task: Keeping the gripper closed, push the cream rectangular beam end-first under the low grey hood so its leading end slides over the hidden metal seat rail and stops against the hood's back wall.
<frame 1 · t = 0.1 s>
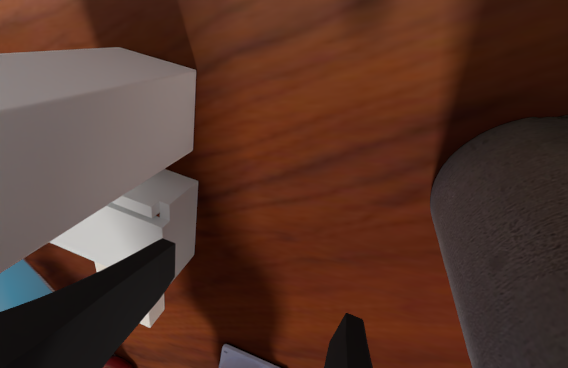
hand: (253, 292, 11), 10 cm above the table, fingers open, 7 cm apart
hood: (133, 199, 26), on the table
liquor: (123, 363, 45), on the table
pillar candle: (517, 197, 16), on the table
milk: (160, 101, 20), on the table
cream rectangular beam: (140, 271, 31), on the table
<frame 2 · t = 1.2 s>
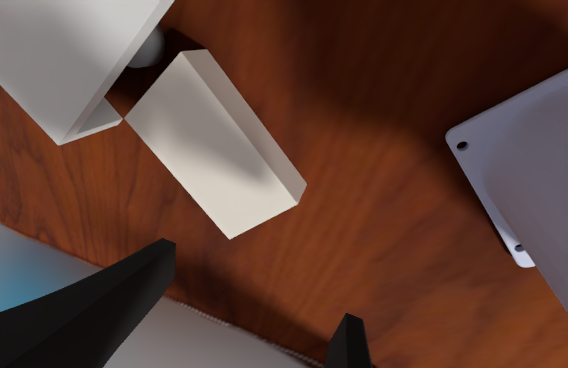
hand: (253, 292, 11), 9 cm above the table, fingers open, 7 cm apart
hood: (119, 8, 16), on the table
cream rectangular beam: (228, 145, 19), on the table
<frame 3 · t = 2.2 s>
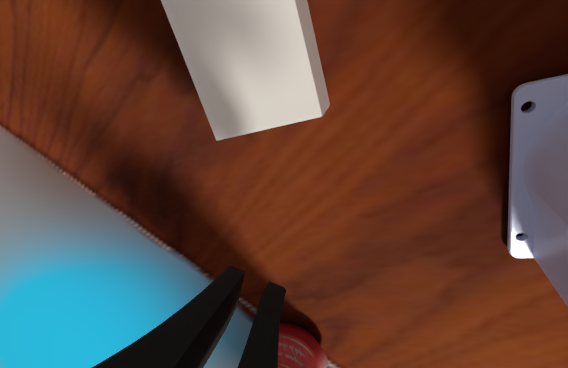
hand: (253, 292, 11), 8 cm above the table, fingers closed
liquor: (293, 337, 26), on the table
cream rectangular beam: (251, 22, 14), on the table
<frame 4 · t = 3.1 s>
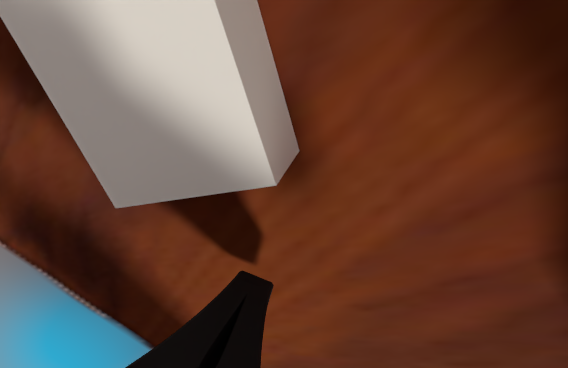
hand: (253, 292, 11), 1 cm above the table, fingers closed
cream rectangular beam: (164, 16, 9), on the table
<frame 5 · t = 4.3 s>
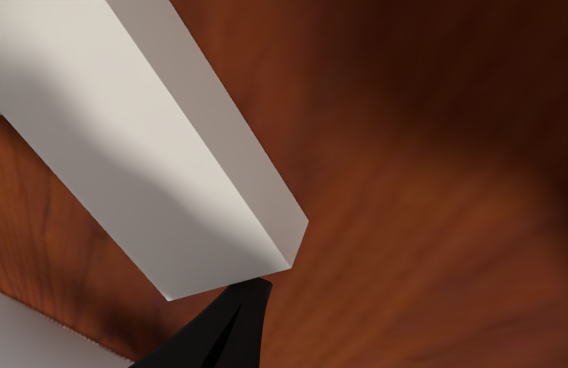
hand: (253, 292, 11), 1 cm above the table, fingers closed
cream rectangular beam: (176, 141, 11), on the table, touching gripper
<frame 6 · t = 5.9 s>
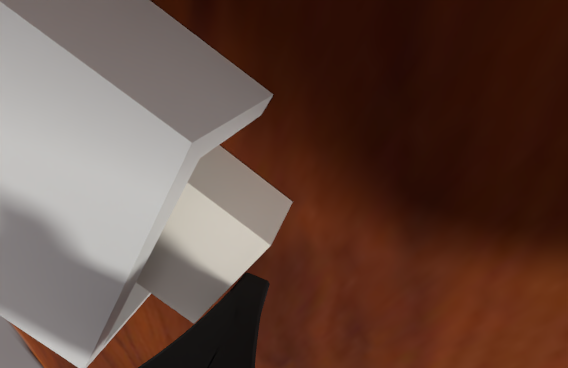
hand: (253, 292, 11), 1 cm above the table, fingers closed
hood: (120, 164, 12), on the table
cream rectangular beam: (156, 172, 12), resting in hood, touching gripper
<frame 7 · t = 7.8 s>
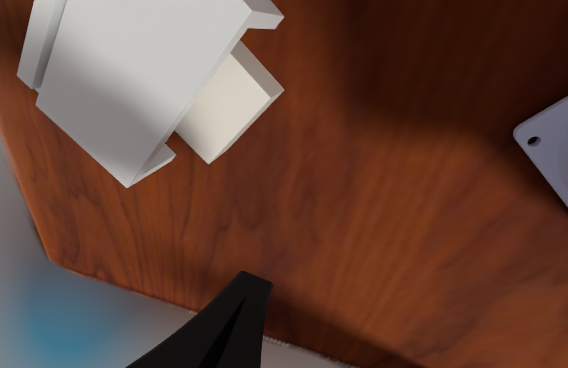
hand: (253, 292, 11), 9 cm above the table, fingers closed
hood: (171, 53, 17), on the table
cream rectangular beam: (196, 62, 17), resting in hood
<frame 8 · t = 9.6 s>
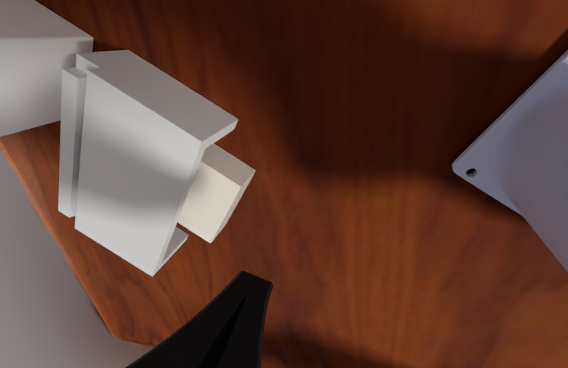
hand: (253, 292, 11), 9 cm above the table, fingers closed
hood: (164, 161, 22), on the table
milk: (58, 56, 20), on the table
cream rectangular beam: (184, 163, 21), resting in hood
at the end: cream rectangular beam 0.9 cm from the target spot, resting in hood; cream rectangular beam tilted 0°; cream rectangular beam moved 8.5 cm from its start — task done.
